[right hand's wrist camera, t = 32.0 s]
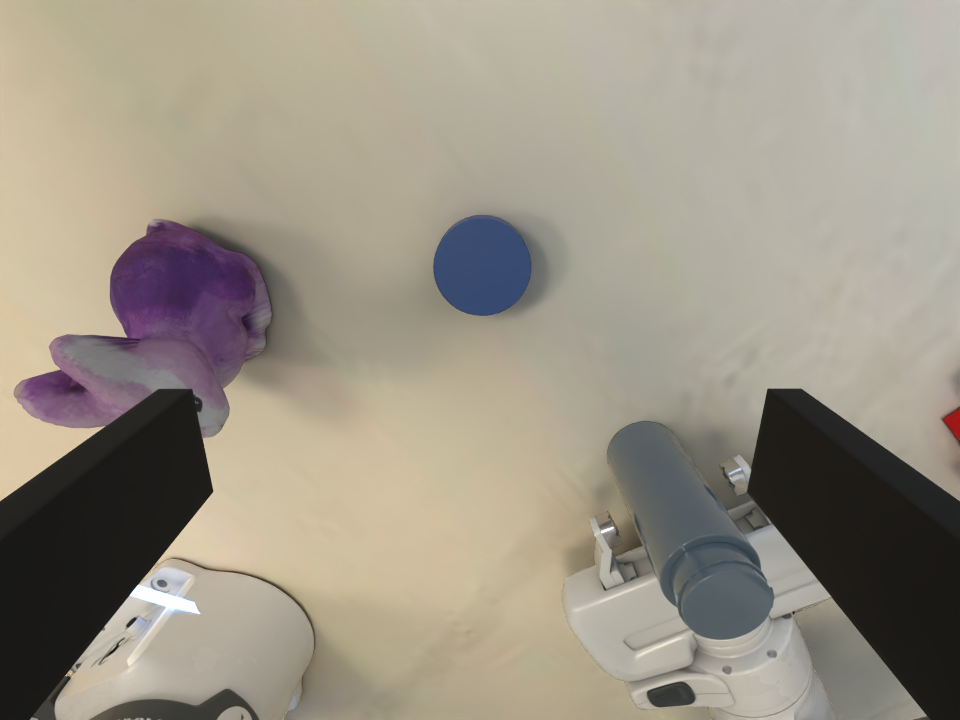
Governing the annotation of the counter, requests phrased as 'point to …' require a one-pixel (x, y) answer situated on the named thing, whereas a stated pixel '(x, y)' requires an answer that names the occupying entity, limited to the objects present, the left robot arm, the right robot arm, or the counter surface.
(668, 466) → the grey tall cylinder
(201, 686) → the left robot arm
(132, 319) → the figurine
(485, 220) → the lid
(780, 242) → the counter surface
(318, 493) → the counter surface
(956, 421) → the toy
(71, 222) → the counter surface
